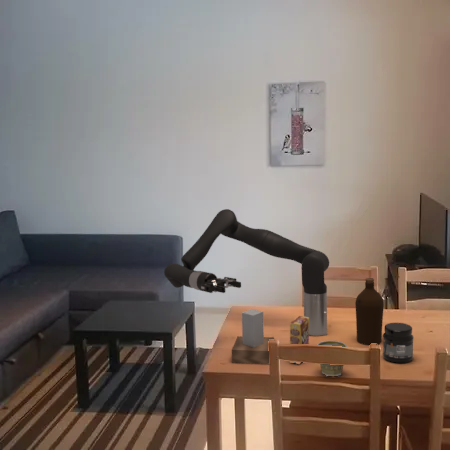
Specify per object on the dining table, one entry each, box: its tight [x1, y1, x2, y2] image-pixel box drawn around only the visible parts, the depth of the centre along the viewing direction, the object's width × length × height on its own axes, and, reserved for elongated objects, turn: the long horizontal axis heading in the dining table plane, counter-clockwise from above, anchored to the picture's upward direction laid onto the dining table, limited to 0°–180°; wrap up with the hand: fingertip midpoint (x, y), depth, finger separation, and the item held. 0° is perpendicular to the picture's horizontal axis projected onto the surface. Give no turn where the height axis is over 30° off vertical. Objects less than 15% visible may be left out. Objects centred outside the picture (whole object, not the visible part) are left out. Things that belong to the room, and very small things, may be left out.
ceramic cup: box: [316, 340, 348, 376], centre depth 207 cm, size 13×10×10 cm
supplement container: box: [382, 322, 414, 364], centre depth 219 cm, size 10×10×12 cm
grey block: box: [241, 308, 265, 347], centre depth 224 cm, size 6×6×12 cm
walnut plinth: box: [231, 335, 275, 365], centre depth 226 cm, size 14×14×5 cm
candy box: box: [289, 315, 310, 363], centre depth 220 cm, size 9×4×15 cm, turn 151°
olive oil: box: [354, 277, 385, 346], centre depth 236 cm, size 11×11×25 cm
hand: (232, 287), depth 229 cm, fingers open, 8 cm apart
